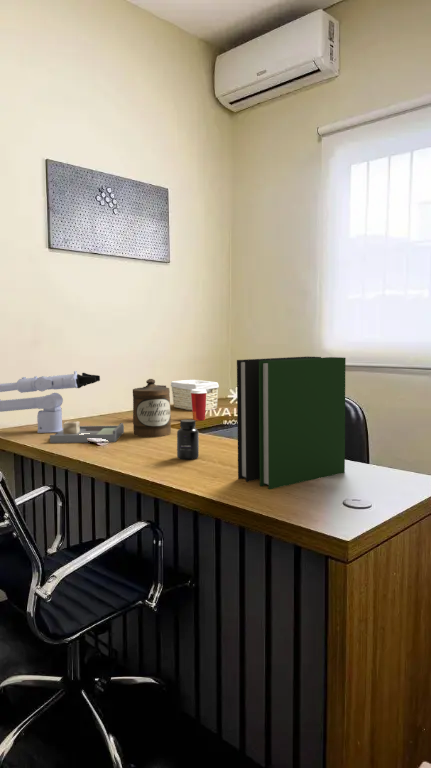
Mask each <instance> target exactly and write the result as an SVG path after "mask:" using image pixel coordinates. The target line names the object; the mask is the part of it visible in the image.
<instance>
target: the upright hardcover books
mask: <svg viewBox="0 0 431 768" xmlns="http://www.w3.org/2000/svg"><path fill="white" fill-rule="evenodd" d="M236 399H237V401H236V402H237V403H236V405H237V407H236V408H237V409H236V411H237V413H236V414H237V418H236V419H237V479H238V480H240V479H245V482H246V483H247V482H252V481H253V482H254V481H256V480H257V481H258V480H259V487H264V486H268V490H273V489H277V488H283V487H285V486H290V485H294V484H295V485H296V484H299V483H304V482H309V481H314V480H317V479H318V480H319V479H321V478H326V477H327V478H328V477H331V476H336V475H340V474H345V472H346V471H345V470H346V468H345V467H346V466H345V465H346V464H345V463H346V461H345V459H346V458H345V457H346V357H335V356H334V357H333V356H329V357H328V356H326V357H322V356H292V357H291V356H290V357H275V358H273V357H270V358H252V359H251V358H249V359H248V358H247V359H236Z"/></svg>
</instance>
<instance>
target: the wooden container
mask: <svg viewBox="0 0 431 768" xmlns="http://www.w3.org/2000/svg"><path fill="white" fill-rule="evenodd" d="M155 383H156V380H155V379H154V378H149V379H147V380H146V385H145V386H142V387H137V388H135V387H134V388H132V423H133V435H134V436H136V437H142V438H156V437H157V438H158V437H164V436H168V435H170V434H171V433H172V429H171V428H172V425H171V419H172V418H171V417H172V415H171V397H170V387H167V386H166V387H157V386H156V385H157V384H155Z"/></svg>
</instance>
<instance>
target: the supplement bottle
mask: <svg viewBox="0 0 431 768" xmlns="http://www.w3.org/2000/svg"><path fill="white" fill-rule="evenodd" d="M179 422H180V423H179V427H180V428H178V430H177V432H176V455H177V456H176V457H177V458H178V459H179V460H183V461H191V460H197V459H198V458H199V447H200V446H199V438H200V437H199V435H200V434H199V430H198V429H197V428H196V425H197V424H196V421H195V420H193V419H181V420H180V421H179Z"/></svg>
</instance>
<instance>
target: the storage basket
mask: <svg viewBox="0 0 431 768" xmlns="http://www.w3.org/2000/svg"><path fill="white" fill-rule="evenodd" d="M170 387H171V393H172V402H173V407H174V408H176V409H181V410H186V411H192V399H191V393H190V392H191V390H193V389H206V392H207V393H206V411H213V410H216V409H218V400H219V399H218V398H219V395H218V393H219V391H218V389H219V388H220V385H219V383H218V382H216V381H209V380H201V379H186V380H184V379H183V380H173V381H171V382H170Z"/></svg>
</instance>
